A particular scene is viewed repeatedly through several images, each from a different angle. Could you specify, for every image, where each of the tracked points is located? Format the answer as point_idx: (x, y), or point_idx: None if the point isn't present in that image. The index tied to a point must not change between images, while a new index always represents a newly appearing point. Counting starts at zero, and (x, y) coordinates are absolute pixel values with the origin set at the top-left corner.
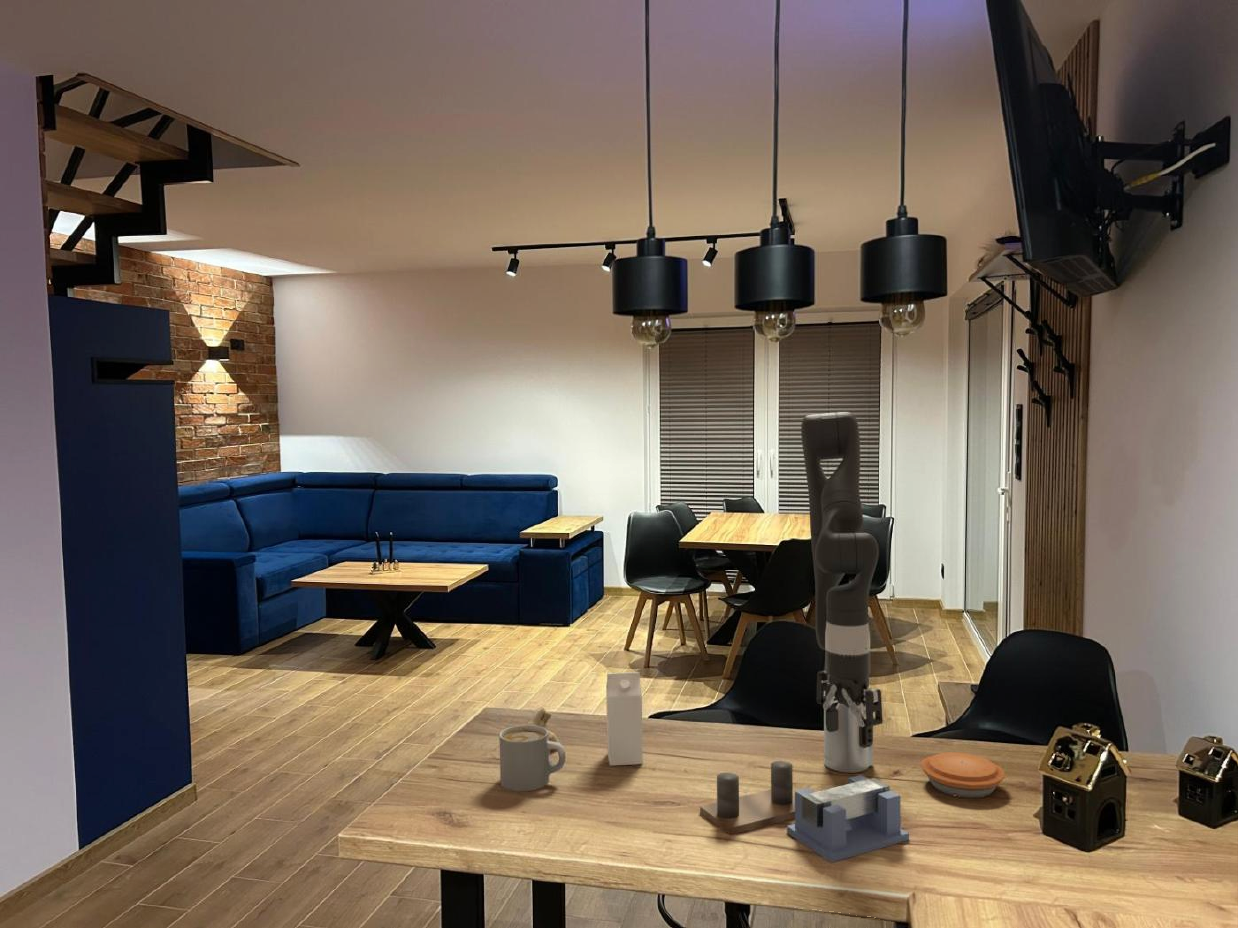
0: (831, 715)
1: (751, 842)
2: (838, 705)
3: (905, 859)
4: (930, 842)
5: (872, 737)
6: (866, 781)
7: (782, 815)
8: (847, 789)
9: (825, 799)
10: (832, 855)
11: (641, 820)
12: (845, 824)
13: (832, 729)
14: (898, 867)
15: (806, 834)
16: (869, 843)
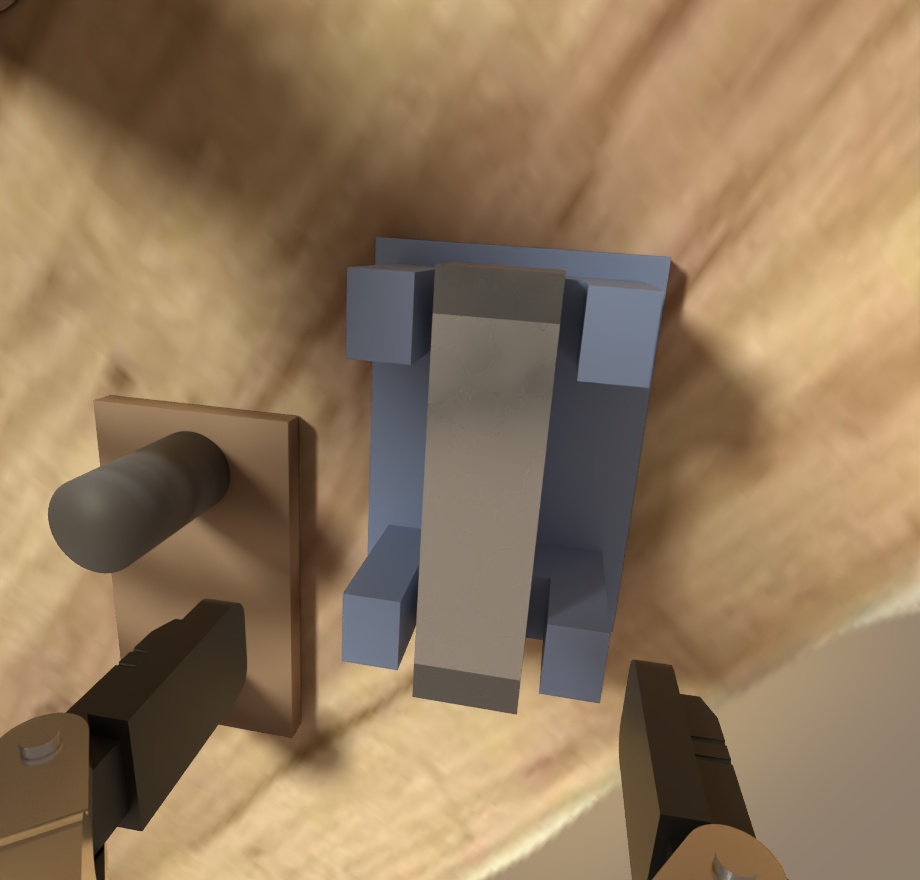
0: (163, 764)
1: (372, 706)
2: (88, 758)
3: (762, 397)
4: (739, 193)
5: (728, 755)
6: (452, 340)
7: (291, 548)
8: (473, 495)
9: (500, 653)
10: (613, 625)
11: (122, 832)
12: (606, 598)
13: (238, 662)
14: (784, 465)
15: None
16: (632, 461)
